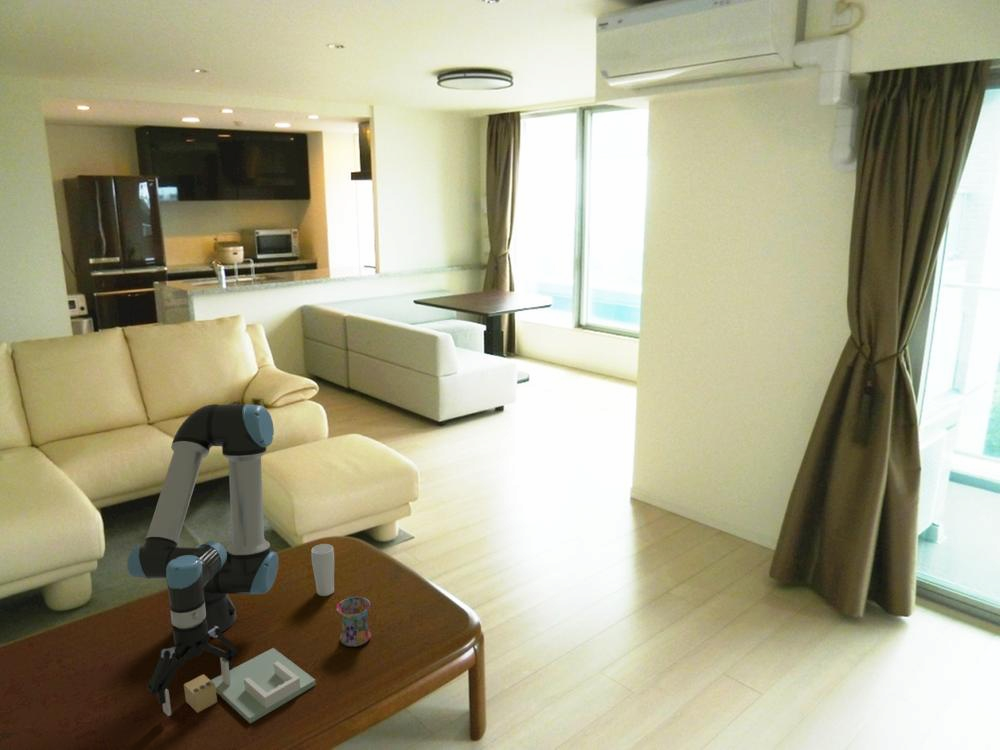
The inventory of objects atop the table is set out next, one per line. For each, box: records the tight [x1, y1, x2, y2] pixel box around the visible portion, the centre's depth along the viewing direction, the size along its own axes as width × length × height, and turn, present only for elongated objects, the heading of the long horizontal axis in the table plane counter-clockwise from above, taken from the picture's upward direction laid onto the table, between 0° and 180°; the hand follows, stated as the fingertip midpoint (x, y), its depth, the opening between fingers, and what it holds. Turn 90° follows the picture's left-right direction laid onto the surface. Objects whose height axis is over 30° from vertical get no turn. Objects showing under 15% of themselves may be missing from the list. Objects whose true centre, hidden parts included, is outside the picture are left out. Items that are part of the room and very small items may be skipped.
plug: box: [183, 674, 218, 714], centre depth 171 cm, size 6×5×5 cm
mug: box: [335, 596, 372, 648], centre depth 195 cm, size 12×9×11 cm
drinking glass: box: [310, 543, 335, 597], centre depth 218 cm, size 7×7×15 cm
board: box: [210, 647, 317, 724], centre depth 177 cm, size 20×18×4 cm
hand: (197, 699), depth 171 cm, fingers open, 14 cm apart
